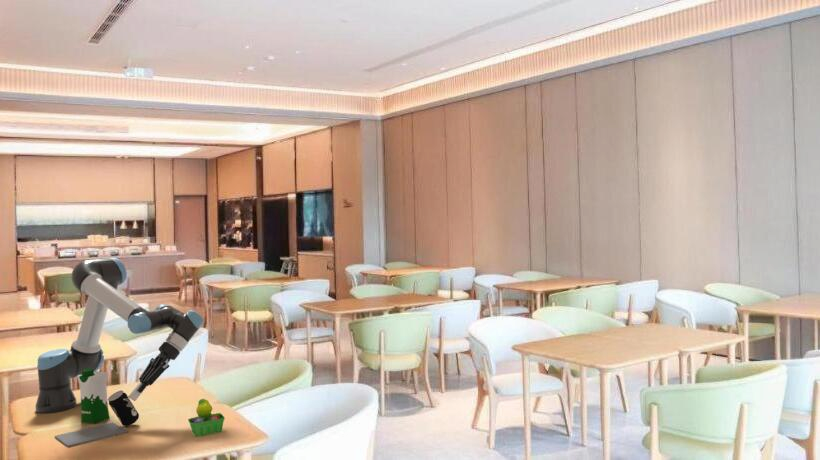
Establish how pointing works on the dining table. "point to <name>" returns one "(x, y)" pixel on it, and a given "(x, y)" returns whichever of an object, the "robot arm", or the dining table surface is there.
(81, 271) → the robot arm
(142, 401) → the dining table surface
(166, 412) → the dining table surface
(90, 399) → the milk carton
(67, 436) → the mat
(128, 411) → the beverage can
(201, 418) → the fruit basket
